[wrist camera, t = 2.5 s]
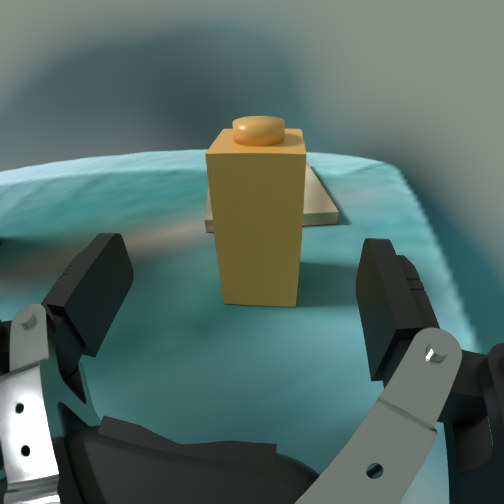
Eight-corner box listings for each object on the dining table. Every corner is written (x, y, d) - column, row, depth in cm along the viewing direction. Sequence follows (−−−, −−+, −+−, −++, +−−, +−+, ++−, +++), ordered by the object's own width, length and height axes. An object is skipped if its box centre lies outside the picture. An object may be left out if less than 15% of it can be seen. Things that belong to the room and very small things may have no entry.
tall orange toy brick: (295, 307, 23) (307, 133, 15) (223, 303, 24) (203, 133, 16) (295, 261, 28) (301, 113, 20) (233, 258, 28) (222, 113, 20)
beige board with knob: (206, 232, 32) (200, 184, 29) (212, 170, 45) (209, 136, 42) (336, 223, 32) (342, 177, 29) (303, 166, 46) (304, 132, 43)
